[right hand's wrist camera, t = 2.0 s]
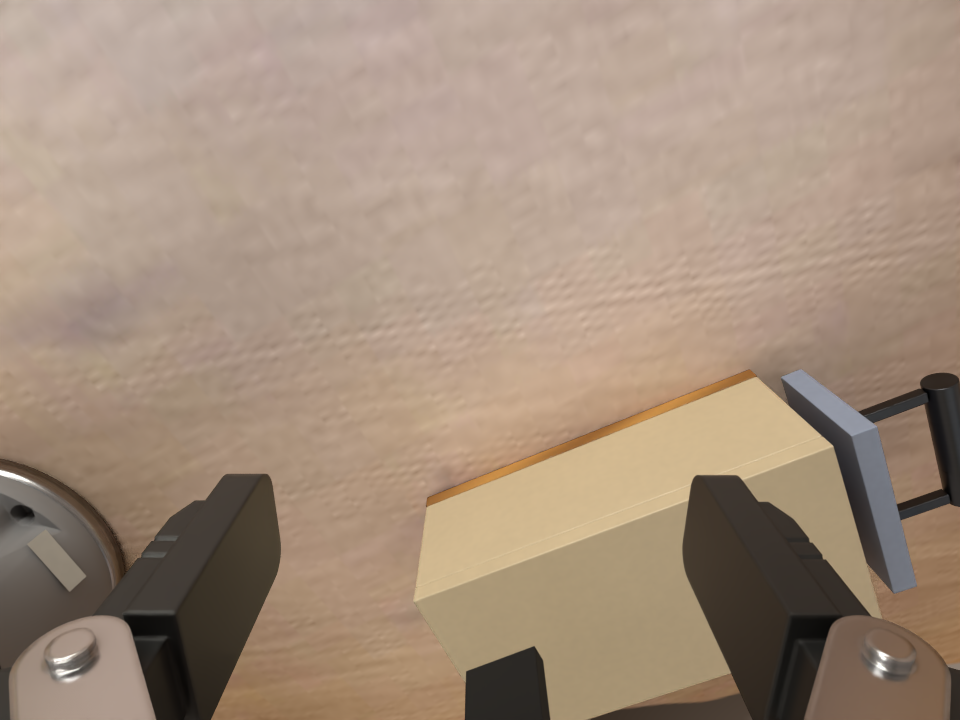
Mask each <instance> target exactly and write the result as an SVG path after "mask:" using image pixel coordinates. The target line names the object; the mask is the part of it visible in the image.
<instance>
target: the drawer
mask: <svg viewBox="0 0 960 720" xmlns="http://www.w3.org/2000/svg"><path fill="white" fill-rule="evenodd" d="M781 380H782V383H783V386H784V390H785V393H786V396H787V399H788V403H789V406H790V407H791V408H792V409H793V410H794V411H795V412H796V413H797V414H798V415H799V416H801V417H802V418H803V419H804V420H805V421H806V422H807V423H808V424H809V425H810V426H812V427H813V428H814V429H815V430H816V431H817V432H818V433H819V434H820V435H821V436H822V437H824V438H825V439H826V440H827V441H828V442H829V443H831V444H832V445H833V446H834V450H835V453H836V457H837V460H838V464H839V467H840V471H841V475H842V478H843V482H844V485H845V489H846V492H847V496H848V499H849V503H850V506H851V510H852V513H853V517H854V520H855V524H856V527H857V531H858V534H859V538H860V542H861V545H862V549H863V552H864V556H865V559H866V563H867V564H868V565H869V566H870V567H871V568H872V569H873V571H874V572H875V573H876V574H877V575H878V576H879V577H880V579H881V580H882V581H883V582H884V583H885V584H886V585H887V586H888V588H889V589H890V590H891V591H892V592H893V593H894V594H895V593H898V592H901V591H904V590H907V589H910V588H913V587H916V586H917V584H916V580H915V576H914V572H913V568H912V564H911V560H910V556H909V552H908V548H907V544H906V540H905V536H904V532H903V528H902V524H901V520H903V519H906V518H909V517H912V516H914V515H917V514H920V513H923V512H926V511H929V510H932V509H935V508H938V507H940V506H943V505H946V504H949V503H950V504H952V505H954V506H958V507H960V382H959V378H958V377H957V376H955V375H953V374H950V373H935V374H931V375H928V376H926V377H924V378H923V379H922V380H921V382H920V386H921V389H917V390H914V391H912V392H909V393H906V394H904V395H901V396H898V397H896V398H893V399H890V400H888V401H885V402H882V403H880V404H877V405H875V406H872V407H869V408H867V409H864V410H861V411H859V412H857V411H856V410H855V409H853V408H852V407H851V406H849V405H848V404H847V403H845V402H844V401H843V400H841V399H840V398H839V397H837V396H836V395H835V394H833V393H832V392H831V391H829V390H828V389H827V388H825V387H824V386H823V385H822V384H820V383H819V382H818V381H816V380H815V379H814V378H812V377H811V376H810V375H808V374H807V373H806V372H804V371H803V370H802V369H800V370H797V371H795V372H792V373H790V374H787V375H784V376H782V377H781ZM923 404H925V409H926V413H927V418H928V423H929V427H930V432H931V437H932V441H933V446H934V450H935V455H936V460H937V464H938V469H939V474H940V478H941V483H942V488H943V490H942V489H940V490H937V491H934V492H931V493H928V494H926V495H923V496H920V497H917V498H914V499H911V500H908V501H906V502H903V503H900V504H896V500H895V496H894V492H893V488H892V484H891V480H890V476H889V472H888V468H887V464H886V460H885V456H884V452H883V448H882V444H881V440H880V436H879V432H878V428H877V426H876V425H874V424H873V423H874V422H877V421H880V420H882V419H885V418H888V417H891V416H893V415H896V414H899V413H901V412H904V411H907V410H909V409H912V408H915V407H917V406H920V405H923Z"/></svg>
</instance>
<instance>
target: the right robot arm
mask: <svg viewBox="0 0 960 720" xmlns="http://www.w3.org/2000/svg"><path fill="white" fill-rule="evenodd" d="M280 555H281V542H280V535H279V528H278V521H277V514H276V507H275V500H274V493H273V486H272V481H271V479H270V477H269V475H267V474H226V475H224V476H223V477H222V479H221V480H220V481H219V483H218V484H217V485H216V487H215V488H214V490H213V491H212V492H211V494H210V495H209V496H208V498H207V499H206V500H205V501H194V502H192V503H191V504H189V505H188V506H186V507H185V508H183V509H182V510H181V511H179V512H178V513H176V514H175V515H173V516H172V517H170V519H169V520H168V521H167V522H166V524H165V525H164V526H163V527H162V529H161V530H160V531H159V532H158V534H157V535H156V536H155V540H154V541H151V542H150V544H149V545H148V546H147V547H146V549H145V550H144V551H143V553H142V556H141V558H138V559H137V560H136V561H135V563H134V564H133V565H132V566H131V568H130V569H129V570H128V571H127V573H126V574H125V575H124V576H123V578H122V579H121V580H120V581H119V583H118V584H117V585H116V586H115V588H114V589H113V590H112V591H111V593H110V594H109V595H108V597H107V598H106V599H105V600H104V602H103V603H102V604H101V605H100V607H99V608H98V609H97V610H96V612H95V613H94V614H93V615H92V616H89V617H84V618H80V619H77V620H74V621H71V622H68V623H66V624H63V625H61V626H59V627H57V628H55V629H53V630H51V631H49V632H47V633H46V634H44V635H43V636H41V637H40V638H38V639H37V640H36V641H35V642H33V643H32V644H31V645H30V646H29V647H27V648H26V649H25V650H24V651H23V652H22V654H21V655H20V656H19V657H18V658H17V660H16V661H15V663H14V665H13V666H12V667H8V668H4V669H0V720H211V718H212V716H213V714H214V711H215V709H216V707H217V705H218V703H219V700H220V698H221V696H222V694H223V692H224V689H225V687H226V685H227V683H228V681H229V678H230V676H231V674H232V672H233V670H234V667H235V665H236V663H237V661H238V659H239V656H240V654H241V652H242V650H243V648H244V645H245V643H246V641H247V639H248V637H249V634H250V632H251V630H252V628H253V626H254V623H255V621H256V619H257V617H258V615H259V612H260V610H261V608H262V606H263V604H264V601H265V599H266V597H267V595H268V593H269V591H270V588H271V586H272V584H273V582H274V580H275V577H276V575H277V572H278V568H279V563H280ZM682 555H683V564H684V569H685V573H686V576H687V578H688V581H689V583H690V585H691V587H692V589H693V591H694V594H695V596H696V598H697V600H698V602H699V604H700V607H701V609H702V611H703V613H704V615H705V617H706V620H707V622H708V624H709V626H710V628H711V630H712V633H713V635H714V637H715V639H716V641H717V643H718V646H719V648H720V650H721V652H722V654H723V657H724V659H725V661H726V663H727V665H728V667H729V670H730V672H731V674H732V676H733V678H734V680H735V683H736V685H737V687H738V689H739V691H740V693H741V696H742V698H743V700H744V702H745V704H746V706H747V709H748V711H749V713H750V715H751V717H752V719H753V720H960V670H956V669H953V668H949V667H948V666H947V665H946V663H945V661H944V660H943V658H942V657H941V656H940V655H939V654H938V652H937V651H936V650H935V649H934V648H933V647H931V646H930V645H929V644H928V643H927V642H925V641H924V640H923V639H922V638H920V637H919V636H917V635H916V634H914V633H913V632H911V631H909V630H907V629H905V628H903V627H901V626H899V625H897V624H894V623H892V622H889V621H886V620H883V619H880V618H876V617H872V616H871V615H870V613H869V612H868V611H867V610H866V609H865V607H864V606H863V605H862V604H861V602H860V601H859V600H858V599H857V597H856V596H855V595H854V594H853V592H852V591H851V590H850V589H849V587H848V586H847V585H846V584H845V582H844V581H843V580H842V579H841V577H840V576H839V575H838V574H837V572H836V571H835V570H834V569H833V567H832V566H831V565H830V564H829V562H828V561H827V560H826V559H823V555H822V554H821V552H820V551H819V550H818V549H817V547H816V546H815V545H814V544H813V543H810V541H809V537H808V536H807V535H806V534H805V532H804V531H803V530H802V529H801V528H800V526H799V525H798V524H797V523H796V521H795V520H794V519H793V518H792V517H790V516H789V515H787V514H786V513H784V512H783V511H781V510H780V509H778V508H777V507H776V506H774V505H773V504H771V503H770V502H758V501H757V499H756V498H755V497H754V495H753V494H752V492H751V491H750V490H749V488H748V487H747V486H746V484H745V483H744V482H743V480H742V479H741V478H740V477H739V476H737V475H696V476H695V477H694V478H693V480H692V483H691V488H690V495H689V502H688V508H687V515H686V522H685V529H684V536H683V544H682Z"/></svg>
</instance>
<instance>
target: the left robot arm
mask: <svg viewBox="0 0 960 720" xmlns="http://www.w3.org/2000/svg"><path fill="white" fill-rule="evenodd" d="M124 575H125V573H124V564H123V559H122V555H121V552H120V549H119V547H118V544H117V542H116V540H115V538H114V536H113V534H112V532H111V531H110V529H109V528H108V526H107V525H106V523H105V522H104V520H103V519H102V518H101V517H100V515H99V514H98V513H97V512H96V511H95V510H94V509H93V508H92V507H91V506H90V505H89V504H88V503H87V502H86V501H85V500H84V499H83V498H82V497H80V496H79V495H78V494H77V493H75V492H74V491H73V490H71V489H70V488H69V487H67V486H66V485H64V484H62V483H61V482H59V481H58V480H56V479H54V478H52V477H50V476H49V475H47V474H45V473H42V472H40V471H38V470H36V469H33V468H31V467H28V466H25V465H22V464H19V463H16V462H12V461H8V460H3V459H0V669H4V668H8V667H12V666H13V665H14V663H15V661H16V660H17V658H18V657H19V656H20V655H21V654H22V652H23V651H24V650H25V649H26V648H27V647H29V646H30V645H31V644H32V643H33V642H35V641H36V640H37V639H38V638H40V637H41V636H43V635H44V634H46V633H47V632H49V631H51V630H53V629H55V628H57V627H59V626H61V625H63V624H66V623H68V622H71V621H74V620H77V619H80V618H84V617H89V616H92V615H93V614H94V613H95V612H96V610H97V609H98V608H99V607H100V605H101V604H102V603H103V602H104V600H105V599H106V598H107V597H108V595H109V594H110V593H111V591H112V590H113V589H114V588H115V586H116V585H117V584H118V583H119V581H120V580H121V579H122V578H123V576H124ZM465 720H550V712H549V704H548V696H547V688H546V679H545V671H544V663H543V659H542V657H541V656H540V654H539V653H538V651H537V649H536V648H535V646H533V647H530V648H528V649H525V650H522V651H519V652H517V653H514V654H511V655H509V656H506V657H503V658H501V659H498V660H495V661H493V662H490V663H487V664H484V665H482V666H479V667H476V668H474V669H471V670H468V671H466V696H465Z"/></svg>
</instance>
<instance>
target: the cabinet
mask: <svg viewBox="0 0 960 720" xmlns="http://www.w3.org/2000/svg"><path fill="white" fill-rule="evenodd" d="M696 475H737V476H739V477H740V478H741V479H742V480H743V482H744V483H745V484H746V486H747V487H748V488H749V490H750V491H751V492H752V494H753V495H754V497H755V498H756V499H757V501H758V502H770V503H771V504H773V505H774V506H776V507H777V508H778V509H780V510H781V511H783V512H784V513H786V514H787V515H789V516H790V517H792V518H793V519H794V520H795V521H796V523H797V524H798V525H799V526H800V528H801V529H802V530H803V531H804V532H805V534H806V535H807V536H808V537H809V541H810V543H813V544H814V545H815V546H816V547H817V549H818V550H819V551H820V552H821V554H822V555H823V559H826V560H827V561H828V562H829V564H830V565H831V566H832V567H833V569H834V570H835V571H836V572H837V574H838V575H839V576H840V577H841V579H842V580H843V581H844V582H845V584H846V585H847V586H848V587H849V589H850V590H851V591H852V592H853V594H854V595H855V596H856V597H857V599H858V600H859V601H860V602H861V604H862V605H863V606H864V607H865V609H866V610H867V611H868V612H869V613H870V615H871V616H872V617H876V618H880V619H882V616H881V612H880V609H879V605H878V601H877V598H876V594H875V591H874V587H873V584H872V580H871V577H870V573H869V570H868V566H867V563H866V559H865V556H864V552H863V549H862V545H861V542H860V538H859V534H858V531H857V527H856V524H855V520H854V517H853V513H852V510H851V506H850V503H849V499H848V496H847V492H846V489H845V485H844V482H843V478H842V475H841V471H840V467H839V464H838V460H837V457H836V453H835V450H834V446H833V445H832V444H831V443H829V442H828V441H827V440H826V439H825V438H824V437H822V436H821V435H820V434H819V433H818V432H817V431H816V430H815V429H814V428H813V427H812V426H810V425H809V424H808V423H807V422H806V421H805V420H804V419H803V418H802V417H801V416H799V415H798V414H797V413H796V412H795V411H794V410H793V409H792V408H791V407H789V406H788V405H787V404H786V403H785V402H784V401H783V400H782V399H781V398H780V397H778V396H777V395H776V394H775V393H774V392H773V391H772V390H771V389H770V388H768V387H767V386H766V385H765V384H764V383H763V382H762V381H761V380H760V379H759V378H757V376H756V375H755V374H754V373H753V372H752V371H751V370H747V371H745V372H742V373H740V374H737V375H735V376H732V377H730V378H727V379H725V380H722V381H720V382H717V383H715V384H712V385H709V386H707V387H704V388H702V389H699V390H697V391H694V392H692V393H689V394H687V395H684V396H682V397H679V398H677V399H674V400H672V401H669V402H667V403H664V404H662V405H659V406H657V407H654V408H652V409H649V410H647V411H644V412H642V413H639V414H637V415H634V416H632V417H629V418H627V419H624V420H622V421H619V422H616V423H614V424H611V425H609V426H606V427H604V428H601V429H599V430H596V431H594V432H591V433H589V434H586V435H584V436H581V437H579V438H576V439H574V440H571V441H569V442H566V443H564V444H561V445H559V446H556V447H554V448H551V449H549V450H546V451H544V452H541V453H539V454H536V455H534V456H531V457H528V458H526V459H523V460H521V461H518V462H516V463H513V464H511V465H508V466H506V467H503V468H501V469H498V470H496V471H493V472H491V473H488V474H486V475H483V476H481V477H478V478H476V479H473V480H471V481H468V482H466V483H463V484H461V485H458V486H456V487H453V488H451V489H448V490H446V491H443V492H441V493H438V494H435V495H433V496H430V497H428V498H427V504H426V507H427V509H426V516H425V523H424V531H423V538H422V545H421V552H420V559H419V567H418V574H417V581H416V589H415V594H414V603H415V605H416V606H417V608H418V609H419V611H420V613H421V614H422V616H423V617H424V619H425V620H426V622H427V624H428V625H429V627H430V628H431V630H432V631H433V633H434V635H435V636H436V638H437V639H438V641H439V642H440V644H441V646H442V647H443V649H444V650H445V652H446V654H447V655H448V657H449V658H450V660H451V661H452V663H453V665H454V666H455V668H456V669H457V671H458V672H459V674H460V676H461V677H462V679H463V680H464V682H465V683H466V671H468V670H471V669H474V668H476V667H479V666H482V665H484V664H487V663H490V662H493V661H495V660H498V659H501V658H503V657H506V656H509V655H511V654H514V653H517V652H519V651H522V650H525V649H528V648H530V647H533V646H535V648H536V649H537V651H538V653H539V654H540V656H541V657H542V659H543V663H544V671H545V679H546V688H547V696H548V704H549V712H550V720H587V719H591V718H594V717H597V716H600V715H603V714H606V713H609V712H613V711H616V710H619V709H622V708H625V707H628V706H631V705H634V704H637V703H641V702H644V701H647V700H650V699H653V698H656V697H659V696H662V695H665V694H668V693H672V692H675V691H678V690H681V689H684V688H687V687H690V686H693V685H696V684H700V683H703V682H706V681H709V680H712V679H715V678H718V677H721V676H724V675H728V674H731V672H730V670H729V667H728V665H727V663H726V661H725V659H724V657H723V654H722V652H721V650H720V648H719V646H718V643H717V641H716V639H715V637H714V635H713V633H712V630H711V628H710V626H709V624H708V622H707V620H706V617H705V615H704V613H703V611H702V609H701V607H700V604H699V602H698V600H697V598H696V596H695V594H694V591H693V589H692V587H691V585H690V583H689V581H688V578H687V576H686V573H685V569H684V564H683V555H682V544H683V536H684V529H685V522H686V515H687V508H688V502H689V495H690V488H691V483H692V480H693V478H694V477H695V476H696Z"/></svg>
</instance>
